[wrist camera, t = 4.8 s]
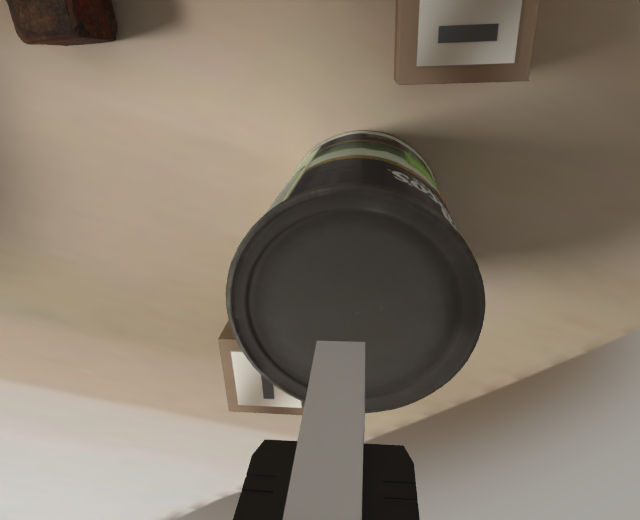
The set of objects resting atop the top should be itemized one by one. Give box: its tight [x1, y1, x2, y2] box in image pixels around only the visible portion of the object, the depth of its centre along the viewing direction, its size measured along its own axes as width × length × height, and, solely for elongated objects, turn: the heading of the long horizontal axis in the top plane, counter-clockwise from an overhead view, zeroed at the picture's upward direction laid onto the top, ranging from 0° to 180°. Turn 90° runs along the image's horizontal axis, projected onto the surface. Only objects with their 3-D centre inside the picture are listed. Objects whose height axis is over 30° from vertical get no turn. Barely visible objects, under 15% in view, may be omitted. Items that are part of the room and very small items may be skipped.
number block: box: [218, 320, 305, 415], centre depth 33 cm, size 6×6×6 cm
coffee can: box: [226, 131, 485, 413], centre depth 24 cm, size 10×10×14 cm
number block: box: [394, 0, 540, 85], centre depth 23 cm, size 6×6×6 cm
